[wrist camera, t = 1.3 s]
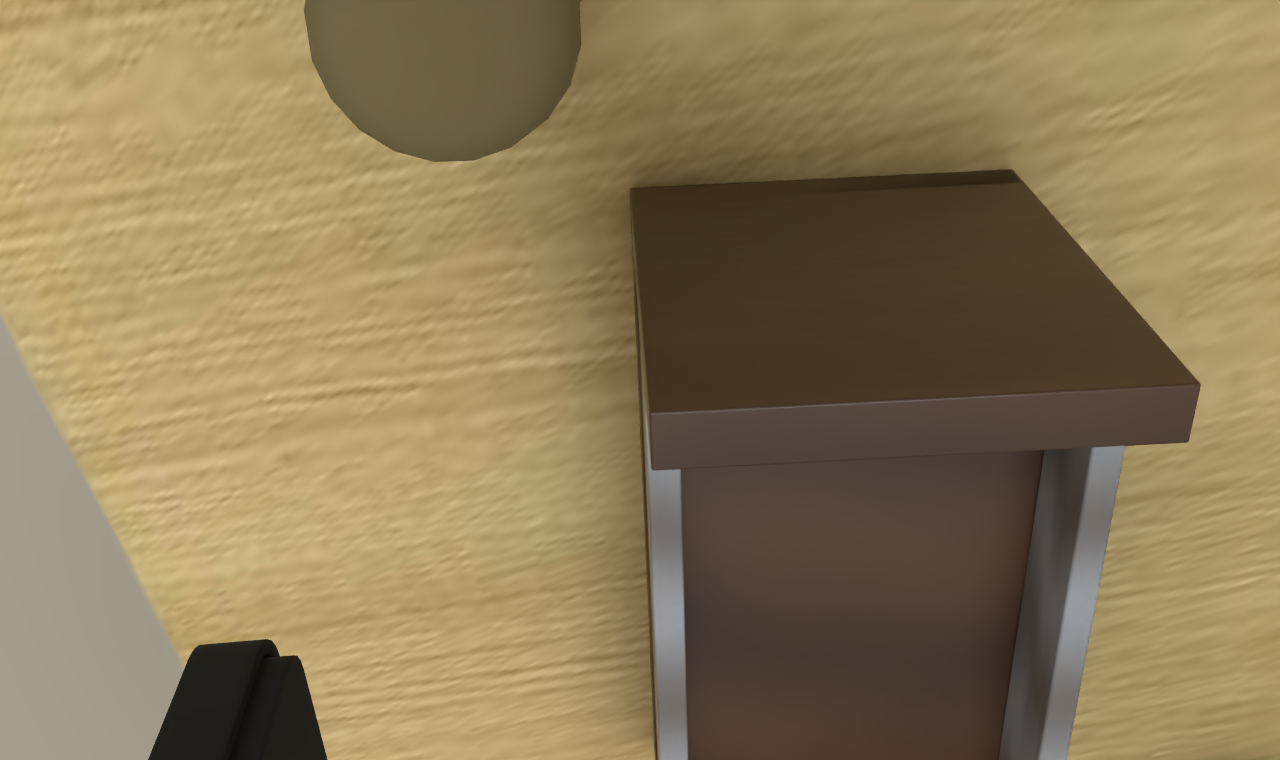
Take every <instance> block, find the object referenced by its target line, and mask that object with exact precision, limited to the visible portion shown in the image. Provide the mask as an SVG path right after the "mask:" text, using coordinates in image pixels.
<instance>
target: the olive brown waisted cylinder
mask: <svg viewBox="0 0 1280 760" xmlns="http://www.w3.org/2000/svg"><path fill="white" fill-rule="evenodd" d="M580 1H581V0H306V2H305V8H304V13H305V19H306V25H307V32H308V38H309V45H310V51H311V57H312V61H313V63H314V65H315V67H316V69H317V71H318V73H319V75H320V77H321V79H322V82H323V84H324V86H325V88H326V90H327V92H328V94H329V96H330V98H331V99H332V100H333V101H334V103H335V104H336V105H337V106H338V107H339V108H340V109H341V110H342V111H343V112H344V113H345V115H346V116H347V117H348V118H349V119H350V120H351V121H352V122H353V123H354V124H355V125H356V126H357V128H358V129H359V130H361V131H362V132H364V133H366V134H367V135H369V136H371V137H372V138H374V139H376V140H377V141H379V142H381V143H382V144H384V145H386V146H387V147H389V148H390V149H392V150H394V151H396V152H400V153H403V154H407V155H411V156H415V157H419V158H422V159H426V160H430V161H434V162H440V161H468V160H476V159H479V158H482V157H485V156H488V155H490V154H493V153H496V152H499V151H502V150H504V149H507V148H510V147H512V146H513V145H515V144H516V143H517V142H519V141H520V140H521V139H523V138H524V137H525V136H526V135H528V134H529V133H530V132H532V131H533V130H534V129H535V128H537V127H538V126H539V125H541V124H542V123H543V122H544V121H546V120H547V119H548V118H549V116H550V115H551V113H552V112H553V110H554V109H555V107H556V106H557V104H558V103H559V101H560V100H561V98H562V97H563V95H564V94H565V92H566V91H567V89H568V88H569V86H570V84H571V80H572V77H573V73H574V69H575V66H576V62H577V58H578V55H579V51H580V47H581V29H580V8H579V3H580Z"/></svg>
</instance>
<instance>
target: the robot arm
mask: <svg viewBox="0 0 1280 760" xmlns="http://www.w3.org/2000/svg"><path fill="white" fill-rule="evenodd" d="M148 760H327V756H326V753H325V749H324V745H323V741H322V737H321V734H320V730H319V726H318V722H317V718H316V714H315V711H314V707H313V703H312V699H311V695H310V692H309V688H308V684H307V680H306V676H305V673H304V669H303V666H302V663H301V660H300V659H299V658H298V656H294V655H293V656H281V657H280V656H279V653H278V650H277V648H276V646H275V644H274V643H273V642H272V641H271V640H267V639H264V640H253V641H241V642H229V643H217V644H205V645H199V646H198V647H196V648H195V649H194V650H193V652H192V654H191V655H190V657H189V659H188V662H187V664H186V667H185V669H184V672H183V674H182V677H181V679H180V682H179V684H178V687H177V689H176V692H175V694H174V697H173V699H172V702H171V704H170V707H169V709H168V712H167V714H166V717H165V719H164V722H163V724H162V727H161V729H160V732H159V734H158V737H157V739H156V742H155V744H154V747H153V749H152V752H151V754H150V757H149V759H148Z"/></svg>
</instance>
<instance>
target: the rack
mask: <svg viewBox="0 0 1280 760" xmlns="http://www.w3.org/2000/svg"><path fill="white" fill-rule="evenodd" d="M630 210H631V233H632V255H633V277H634V300H635V323H636V345H637V368H638V391H639V413H640V436H641V458H642V481H643V504H644V526H645V549H646V571H647V594H648V617H649V639H650V662H651V684H652V707H653V730H654V750H655V760H1067V755H1068V750H1069V744H1070V739H1071V734H1072V728H1073V723H1074V718H1075V712H1076V707H1077V702H1078V696H1079V691H1080V686H1081V680H1082V675H1083V670H1084V664H1085V659H1086V654H1087V648H1088V643H1089V637H1090V632H1091V627H1092V621H1093V616H1094V611H1095V605H1096V600H1097V595H1098V589H1099V584H1100V579H1101V573H1102V568H1103V563H1104V557H1105V552H1106V547H1107V541H1108V536H1109V531H1110V525H1111V520H1112V515H1113V509H1114V504H1115V499H1116V493H1117V488H1118V483H1119V477H1120V472H1121V467H1122V461H1123V456H1124V451H1125V446H1130V445H1149V444H1168V443H1186V442H1188V441H1189V437H1190V432H1191V428H1192V423H1193V419H1194V414H1195V409H1196V405H1197V400H1198V396H1199V391H1200V386H1201V385H1200V383H1199V382H1198V380H1197V379H1196V378H1195V377H1194V376H1193V375H1192V374H1191V372H1190V371H1189V370H1188V369H1187V368H1186V367H1185V366H1184V364H1183V363H1182V362H1181V361H1180V360H1179V359H1178V358H1177V356H1176V355H1175V354H1174V353H1173V352H1172V351H1171V350H1170V349H1169V347H1168V346H1167V345H1166V344H1165V343H1164V342H1163V341H1162V339H1161V338H1160V337H1159V336H1158V335H1157V334H1156V333H1155V331H1154V330H1153V329H1152V328H1151V327H1150V326H1149V325H1148V323H1147V322H1146V321H1145V320H1144V319H1143V318H1142V317H1141V315H1140V314H1139V313H1138V312H1137V311H1136V310H1135V309H1134V307H1133V306H1132V305H1131V304H1130V303H1129V302H1128V301H1127V299H1126V298H1125V297H1124V296H1123V295H1122V294H1121V293H1120V291H1119V290H1118V289H1117V288H1116V287H1115V286H1114V285H1113V283H1112V282H1111V281H1110V280H1109V279H1108V278H1107V277H1106V275H1105V274H1104V273H1103V272H1102V271H1101V270H1100V269H1099V267H1098V266H1097V265H1096V264H1095V263H1094V262H1093V261H1092V259H1091V258H1090V257H1089V256H1088V255H1087V254H1086V253H1085V251H1084V250H1083V249H1082V248H1081V247H1080V246H1079V245H1078V243H1077V242H1076V241H1075V240H1074V239H1073V238H1072V237H1071V236H1070V234H1069V233H1068V232H1067V231H1066V230H1065V229H1064V228H1063V226H1062V225H1061V224H1060V223H1059V222H1058V221H1057V220H1056V218H1055V217H1054V216H1053V215H1052V214H1051V213H1050V212H1049V210H1048V209H1047V208H1046V207H1045V206H1044V205H1043V204H1042V202H1041V201H1040V200H1039V199H1038V198H1037V197H1036V196H1035V194H1034V193H1033V192H1032V191H1031V190H1030V189H1029V188H1028V186H1027V185H1026V184H1025V183H1024V182H1023V181H1022V180H1021V178H1020V177H1019V176H1018V175H1017V174H1016V173H1015V172H1014V170H998V171H978V172H957V173H937V174H917V175H897V176H876V177H856V178H836V179H816V180H796V181H775V182H755V183H735V184H715V185H694V186H674V187H654V188H634V189H630Z"/></svg>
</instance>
